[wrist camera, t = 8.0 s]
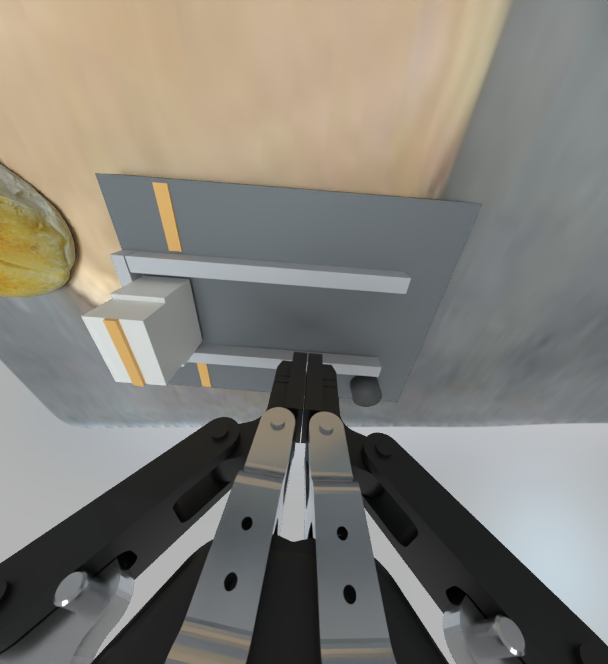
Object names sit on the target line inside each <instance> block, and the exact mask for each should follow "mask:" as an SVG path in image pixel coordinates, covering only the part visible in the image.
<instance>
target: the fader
mask: <svg viewBox="0 0 608 664" xmlns="http://www.w3.org/2000/svg"><path fill="white" fill-rule="evenodd" d="M110 296H111V298H112V299H111V300H109V301H107V302H105V303H104V304H102V305H100V306H98V307H96V308H95V309H93V310H91V311H89V312H88V313H86V314H84V315H82V316H81V317H82V319H83V321H84V323H85V324H86V326H87V328H88V330H89V332H90V334H91V336H92V338H93V340H94V342H95V343H96V345H97V347H98V349H99V351H100V353H101V355H102V357H103V359H104V360H105V362H106V364H107V366H108V368H109V370H110V372H111V374H112V376H113V377H114V379H115V381H116V382H128V383H133V385H134V386H145V385H146V384H154V385H167V384H168V383H169V381H170V380H171V379H172V377H173V376H174V375H175V373H176V372H177V371H178V369H179V368H180V367H181V366H182V367H184V366H185V364H186V363H187V362H188V360H189V359H190V357H191V356H192V355H193V353H194V352H195V351H196V349H197V348H198V346H199V345H200V344H201V342H202V336H201V332H200V327H199V322H198V318H197V313H196V308H195V304H194V299H193V294H192V290H191V285H190V280H189V279H182V278H169V277H157V276H142V277H140V278H138V279H136V280H135V281H133V282H131V283H129V284H127V285H125V286H123V287H121V288H120V289H118V290H116V291H114V292H112V293H110Z"/></svg>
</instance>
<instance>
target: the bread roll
mask: <svg viewBox="0 0 608 664" xmlns="http://www.w3.org/2000/svg"><path fill="white" fill-rule="evenodd" d="M74 262H75V246H74V240H73V237H72V234H71V232H70V230H69V228H68V225H67V224H66V222H65V221H64V219H63V218H62V216H61V215H60V213H59V212H58V210H57V209H56V208H55V207H54V206H53V205H51V204H50V202H49V201H47V200H46V199H45V198H44V197H43V196H41V195H40V194H39V193H38V192H37V191H36V190H35V189H34V188H33V187H32V186H31V185H30V184H28V183H27V182H26V181H24V180H23V179H21V178H20V177H19V176H17V175H16V174H14V173H13V172H11V171H10V170H8V169H7V168H5V167H4V166H2V165H0V296H5V297H33V296H39V295H43V294H47V293H50V292H53V291H55V290H57V289H58V288H60V287H62V286H63V285H64V284H65V283H66V282H67V281H68V279H69V277H70V270H71V268H72V267H73V264H74Z"/></svg>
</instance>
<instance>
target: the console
mask: <svg viewBox="0 0 608 664" xmlns="http://www.w3.org/2000/svg"><path fill="white" fill-rule="evenodd" d="M95 174H96V177H97V180H98V183H99V186H100V188H101V191H102V194H103V197H104V200H105V203H106V205H107V208H108V211H109V214H110V217H111V220H112V222H113V225H114V228H115V231H116V234H117V236H118V239H119V242H120V245H121V248H122V251H119V252H116V253H113V254H110V257H111V260H112V262H113V265H114V268H115V270H116V273H117V275H118V278H119V280H120V283H121V286H122V287H123V286H125V285H127V284H129V283H131V282H133V281H135V280H136V279H138V278H140V277H142V276H157V277H169V278H182V279H189V280H190V285H191V290H192V294H193V299H194V304H195V308H196V313H197V318H198V322H199V327H200V332H201V336H202V342H201V344H200V345H199V346H198V348H197V349H196V351H195V352H194V353H193V355H192V356H191V357H190V359H189V360H188V362H187V363H186V364H185V366H184V367H182V366H181V367H180V368H179V369H178V371H177V372H176V373H175V375H174V376H173V377H172V379H171V380H170V381H169V384H173V385H185V386H198V387H211V388H224V389H237V390H250V391H262V392H271V391H272V387H273V383H274V378H275V374H276V370H277V366H278V365H279V364H280V363H281V362H282V361H283V360H285V361H292V360H293V353H294V352H305V353H307V364H308V354H309V353H316V354H322V356H323V364H328V365H332V366H333V368H334V369H335V371H336V374H337V386H338V387H337V389H338V397H339V398H352V399H353V401H354V403H355V404H357V405H359V406H363V407H369V406H373V405H375V404H377V403H379V402H380V401H391V402H398V399H399V397H400V395H401V392H402V390H403V388H404V385H405V383H406V381H407V378H408V376H409V374H410V371H411V369H412V367H413V364H414V362H415V360H416V357H417V355H418V353H419V350H420V348H421V346H422V343H423V341H424V339H425V336H426V334H427V332H428V329H429V327H430V325H431V322H432V320H433V318H434V315H435V313H436V311H437V308H438V306H439V304H440V301H441V299H442V297H443V294H444V292H445V290H446V287H447V285H448V283H449V280H450V278H451V276H452V273H453V271H454V269H455V266H456V264H457V262H458V259H459V257H460V255H461V252H462V250H463V248H464V245H465V243H466V240H467V238H468V236H469V233H470V231H471V229H472V226H473V224H474V222H475V219H476V217H477V215H478V212H479V210H480V208H481V205H482V204H479V203H471V202H463V201H451V200H438V199H425V198H413V197H400V196H387V195H375V194H362V193H349V192H337V191H324V190H311V189H299V188H286V187H273V186H260V185H248V184H235V183H222V182H210V181H197V180H184V179H172V178H159V177H146V176H134V175H121V174H99V173H95ZM306 373H307V366H306ZM305 384H306V379H305ZM304 396H305V392H304Z"/></svg>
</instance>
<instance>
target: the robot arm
mask: <svg viewBox="0 0 608 664" xmlns="http://www.w3.org/2000/svg"><path fill="white" fill-rule="evenodd" d="M306 366H307V373H306ZM305 379H306V384H305ZM337 387H338V386H337V374H336V371H335V369H334V368H333V366H332V365H328V364H323V356H322V354H316V353H309V354H308V364H307V353H305V352H294V353H293V360H292V361H285V360H283V361H282V362H281V363H280V364H279V365H278V366H277V370H276V374H275V378H274V383H273V387H272V391H271V395H270V399H269V404H268V407H267V410H266V412H265V413H264V414H263V415H262V416H261V417H260V418H258V419H256V420H254V421H251V422H247V423H242V424H238V423H237V422H236V421H235V420H233V419H232V418H228V417H221V418H217V419H214V420H212V421H211V422H209V423H208V424H206V425H205V426H203V427H202V428H200V429H199V430H197V431H196V432H194V433H193V434H191V435H190V436H188V437H187V438H185V439H184V440H182V441H181V442H179V443H178V444H176V445H175V446H174V447H172V448H171V449H169V450H168V451H166V452H165V453H163V454H162V455H160V456H159V457H157V458H156V459H154V460H153V461H151V462H150V463H148V464H147V465H145V466H144V467H142V468H141V469H139V470H138V471H137V472H135V473H134V474H132V475H131V476H129V477H128V478H126V479H125V480H123V481H122V482H120V483H119V484H117V485H116V486H115V487H113V488H111V489H110V490H108V491H107V492H105V493H104V494H102V495H101V496H99V497H98V498H96V499H95V500H94V501H92V502H91V503H89V504H88V505H86V506H85V507H83V508H82V509H80V510H79V511H77V512H76V513H74V514H73V515H71V516H70V517H69V518H67V519H65V520H64V521H62V522H61V523H59V524H58V525H57V526H55V527H54V528H52V529H51V530H49V531H48V532H46V533H45V534H43V535H42V536H40V537H39V538H37V539H36V540H34V541H33V542H31V543H30V544H28V545H27V546H25V547H24V548H23V549H21V550H19V551H18V552H17V553H15V554H14V555H12V556H11V557H9V558H8V559H6V560H5V561H3V562H2V563H0V664H449V663H448V662H447V660H446V658H445V657H444V655H443V654H442V652H441V651H440V649H439V648H438V646H437V645H436V643H435V642H434V640H433V639H432V637H431V636H430V634H429V632H428V631H427V629H426V628H425V626H424V625H423V623H422V622H421V620H420V619H419V617H418V616H417V614H416V613H415V611H414V610H413V608H412V606H411V605H410V603H409V602H408V600H407V599H406V597H405V596H404V594H403V593H402V591H401V590H400V588H399V586H398V585H397V583H396V582H395V581H394V579H393V578H392V576H391V575H390V574H389V572H388V571H387V570H386V569H385V568H384V567H383V566H382V565H381V563H380V562H379V561H378V560H376V559H375V558H374V556H373V552H372V546H371V542H370V536H369V532H368V526H367V521H366V515H365V510H364V508H365V509H366V510H367V512H368V513H369V514H370V516H371V517H372V518H373V520H374V521H375V522H376V524H377V525H378V526H379V528H380V529H381V530H382V532H383V533H384V534H385V536H386V537H387V538H388V540H389V541H390V542H391V544H392V545H393V547H394V548H395V549H396V551H397V552H398V553H399V554H400V556H401V557H402V558H403V560H404V561H405V563H406V564H407V565H408V567H409V568H410V569H411V570H412V572H413V573H414V575H415V576H416V577H417V579H418V580H419V581H420V583H421V584H422V585H423V587H424V588H425V589H426V591H427V592H428V593H429V595H430V596H431V597H432V599H433V600H434V601H435V603H436V604H437V606H438V607H439V608H440V609H441V611H442V612H443V614H444V617H443V630H444V635H445V639H446V643H447V645H448V648H449V651H450V653H451V655H452V657H453V659H454V660H455V662H456V664H608V646H607V645H606V644H605V643H604V642H603V641H602V640H601V639H600V638H599V637H598V636H597V635H596V634H595V633H594V632H593V631H592V630H591V629H590V628H589V627H588V626H587V625H586V624H585V623H584V622H583V621H582V620H581V619H580V618H579V617H578V616H577V615H575V614H574V613H573V612H572V611H571V610H570V609H569V608H568V607H567V606H566V605H565V604H564V603H563V602H562V601H561V600H560V599H559V598H558V597H557V596H556V595H555V594H554V593H553V592H552V591H551V590H549V589H548V588H547V587H546V586H545V585H544V584H543V583H542V582H541V581H540V580H539V579H538V578H537V577H536V576H535V575H534V574H533V573H532V572H531V571H530V570H529V569H528V568H527V567H526V566H525V565H523V563H521V562H520V561H519V560H518V559H517V558H516V557H515V556H514V555H513V554H512V553H511V552H510V551H509V550H508V549H507V548H506V547H505V546H504V545H503V544H502V543H501V542H500V541H499V540H498V539H497V538H496V537H494V536H493V535H492V534H491V533H490V532H489V531H488V530H487V529H486V528H485V527H484V526H483V525H482V524H481V523H480V522H479V521H478V520H477V519H476V518H475V517H474V516H472V514H471V513H469V511H467V509H465V508H464V507H463V506H462V505H461V504H460V503H459V502H458V501H457V500H456V499H455V498H454V497H453V496H452V495H451V494H450V493H449V492H448V491H447V490H446V489H445V488H444V487H443V486H442V485H441V484H440V483H438V482H437V481H436V480H435V479H434V478H433V477H432V476H431V475H430V474H429V473H428V472H427V471H426V470H425V469H424V468H423V467H422V466H421V465H420V464H419V463H418V462H417V461H416V460H415V459H414V458H413V457H411V456H410V455H409V454H408V453H407V452H406V451H405V450H404V449H403V448H402V447H401V446H400V445H399V444H398V443H397V442H396V441H395V440H394V439H393V438H391V437H390V436H388V435H386V434H383V433H372V434H370V435H368V436H367V437H366V436H364V435H362V434H359V433H357V432H354V431H352V430H351V429H349V428H348V427H347V426H346V425H345V424H344V423H343V421H342V419H341V417H340V410H339V398H338V389H337ZM304 392H305V398H304ZM303 405H304V411H303ZM302 415H303V424H302ZM301 425H302V438H301V443H306V448H305V449H306V450H305V459H304V482H305V483H304V484H305V520H304V540H301V541H296V542H291V541H289V540H287V539H285V538H283V537H280V530H281V524H282V517H283V510H284V503H285V498H286V492H287V487H288V481H289V475H290V470H291V464H292V459H293V457H294V451H295V442H296V443H299V442H300V433H301ZM231 488H232V489H231ZM230 489H231V492H230V495H229V498H228V501H227V503H226V507H225V509H224V512H223V514H222V517H221V520H220V523H219V525H218V528H217V531H216V534H215V537H214V539H213V540H211V541H209V542H207V543H206V544H205V545H203V546H202V547H200V548H199V549H198V550H197V551H196V552H194V553H193V554H192V555H191V556H190V557H189V558H188V559H187V560H186V561H185V562H184V563H183V564H182V565H181V567H180V568H179V569H178V570H177V571H176V572H175V573H174V574H173V575H172V577H170V578H169V580H168V581H167V582H166V583H165V584H164V585H163V586H162V587H161V588H160V589H159V590H158V591H157V592H156V594H155V595H154V596H153V597H152V598H151V599H150V600H149V601H148V602H147V603H146V604H145V605H144V607H143V608H142V609H141V610H140V611H139V612H138V613H137V614H136V615H135V616H134V617H133V618H132V620H131V621H130V622H129V623H128V624H127V625H126V626H125V627H124V628H123V629H122V630H121V631H120V633H118V635H117V636H116V637H115V638H114V639H113V640H112V641H111V642H110V643H109V644H108V645H107V646H106V647H105V648H104V650H103V651H102V652H101V653H100V654H99V655H98V656H97V657H96V658H95V659H94V657H95V655H96V653H97V651H98V649H99V647H100V646H101V644H102V642H103V641H104V639H105V638H106V636H107V635H108V634H109V632H110V631H111V630H112V629H113V628H114V627H115V625H116V624H117V623H118V622H119V620H120V619H121V617H122V616H123V614H124V613H125V611H126V609H127V607H128V605H129V603H130V600H131V597H132V594H133V588H134V580H135V579H136V578H137V577H138V576H139V575H140V574H141V573H142V572H143V571H144V570H145V569H146V568H147V567H148V566H149V565H151V564H152V563H153V562H154V561H155V560H156V559H157V558H158V557H159V556H160V555H161V554H162V553H163V552H164V551H166V550H167V549H168V548H169V547H170V546H171V545H172V544H173V543H174V542H175V541H176V540H177V539H178V538H179V537H180V536H181V535H183V534H184V532H186V531H187V530H188V529H189V528H190V527H191V526H192V525H193V524H194V523H195V522H196V521H197V520H199V518H200V517H202V516H203V515H204V514H205V513H206V512H207V511H208V510H209V509H210V508H211V507H212V506H213V505H214V504H215V503H216V502H218V501H219V500H220V499H221V498H222V497H223V496H224V495H225V494H226V493H227V492H228V491H229V490H230ZM93 659H94V660H93Z"/></svg>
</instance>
